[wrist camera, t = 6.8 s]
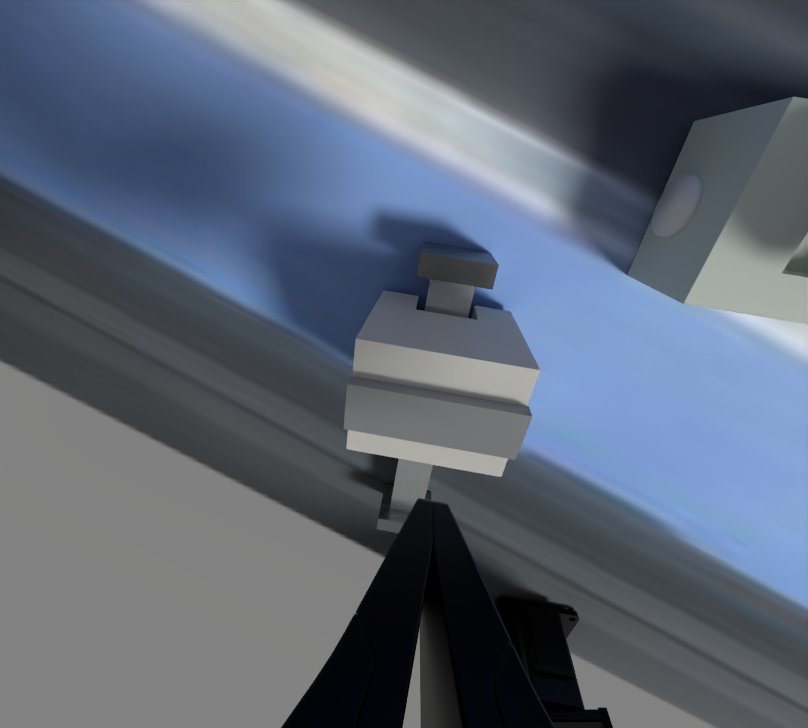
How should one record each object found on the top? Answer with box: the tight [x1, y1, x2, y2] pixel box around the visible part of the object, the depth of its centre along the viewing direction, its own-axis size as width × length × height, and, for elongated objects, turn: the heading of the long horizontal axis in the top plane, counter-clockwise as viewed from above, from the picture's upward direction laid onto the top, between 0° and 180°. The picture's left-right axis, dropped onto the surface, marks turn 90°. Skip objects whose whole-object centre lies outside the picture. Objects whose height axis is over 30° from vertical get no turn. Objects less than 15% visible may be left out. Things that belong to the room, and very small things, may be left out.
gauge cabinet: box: [627, 97, 808, 324], centre depth 13 cm, size 6×8×4 cm
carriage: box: [344, 290, 540, 477], centre depth 16 cm, size 5×6×7 cm
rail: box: [377, 242, 499, 533], centre depth 19 cm, size 17×3×3 cm, turn 172°
